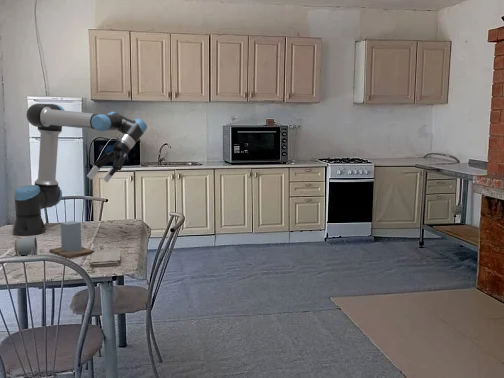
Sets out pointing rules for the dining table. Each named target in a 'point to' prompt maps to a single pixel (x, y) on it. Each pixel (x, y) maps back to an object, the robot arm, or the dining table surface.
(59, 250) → the walnut board
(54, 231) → the dining table surface
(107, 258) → the washcloth
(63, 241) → the slate block
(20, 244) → the ceramic mug
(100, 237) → the dining table surface
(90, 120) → the robot arm
